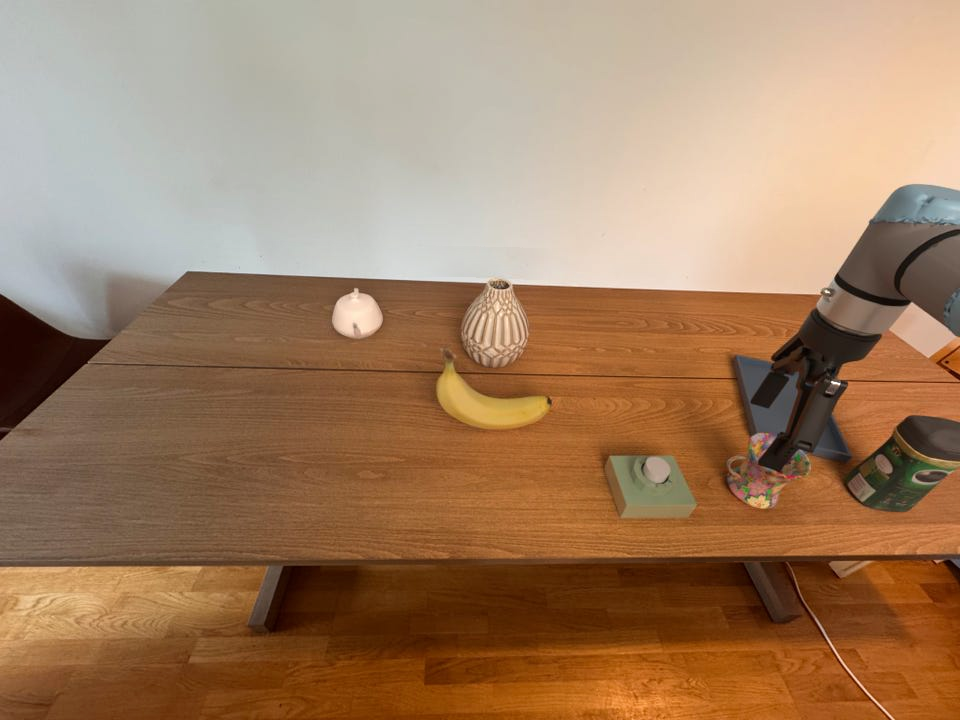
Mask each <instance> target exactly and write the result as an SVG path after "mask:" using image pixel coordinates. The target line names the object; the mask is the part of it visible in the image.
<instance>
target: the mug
mask: <svg viewBox="0 0 960 720" xmlns="http://www.w3.org/2000/svg"><path fill="white" fill-rule="evenodd" d="M777 436H778V435H775V434H771V433H757V434H755V435H753V436H752V437H749V439H748V443H747V448H748V449H747V452H746V453H747V454H746V456H745V455H743V454H736V455H733V456H731V457H729V458H727V461H726V467H727V470H728V473H727V475H726V482H727V485H728V488H729V489H730V491H731V492H732V493H733V495H734V496H735V497H736V498H738V499H739V501H741V502H743V503H744V504H746V505H748V506H750V507H753V508H756V509H762V510H767V509H771V508H774V507H775V506H776V505H777V504H778V502H779V495H780V492H781V490H782V489H783V488H784V487H785V486H786V485H788V484H790V483H791V482H793V481H796V480H800V479H803V478H805V477H807V476H808V475H809V474H810V473H811V470H812V465H811V460H810V459H809V457H808V455H807V453H804V452H803V451H802V450H799V449H798V451H797V452H796V453H795V454H794V455H793V456H792V458H791V459H790V460H789V461H788V462H787V463H786V464H785V466H784V467H783V468H782V469H781V470H780V471H779V472H778V471H775V470H772V469H769V468H766V467H763V466H760V465H758V460H759V459H760V458H761V456H762V455H763V454H764V453H765V451H766V450H767V449H768V448H769V446H770V445H771V444H772V442H773V441H774V440H775V439H776V437H777ZM737 460H743V462H741V464H740V465H738V466H737V467H733V468H731V464H732V463H733V462H734V461H737Z"/></svg>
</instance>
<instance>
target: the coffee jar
mask: <svg viewBox="0 0 960 720" xmlns="http://www.w3.org/2000/svg"><path fill="white" fill-rule="evenodd" d="M959 469H960V421H956V420H953V419H949V418H946V417H938V416H931V415H921V414H920V415H919V414H918V415H917V414H911V415H908V416H906V417H905V418H904V419H903V420H901V421H900V422H899V423H898V424H897V425H896V426H894V428H893V431H892V434H891V435H890V437H889V438H888V439H887V440H886V441H884V443H883V444H881V446H879V447H878V448H877V449H876V450H874V451H873V452H872V453H871V454H870V455H869V456H868V457H866V458H865V459H863V461H861V462H860V463H859V464H857V465H855V467H854V468H853V469H852V470H850V471H849V472H848V473H847V474H846V475H845V478H844V480H845V484H846V487H847V489H848V491H849V492H850V493H851V495H852V496H853V497H854V498H855V499H856V500H857V501H858V502H859V503H861V504H863V506H865V507H867V508H870V509H873V510H877V511H881V512H882V511H883V512H891V513H906V512H907V513H908V512H909V511H910V510H912V509H913V508H914V507H916V505H917V504H919V503H920V502H921V501H922V500H923V499H924V498H925V497H926V496H927V495H928V494H929V493H930V492H931V491H932V490H933V489H935V488H936V487H937V486H938V485H939V484H940V483H941V482H942V481H944V480H945V479H946V478H947V477H948V476H950V475H952V473H954V472H955V471H957V470H959Z"/></svg>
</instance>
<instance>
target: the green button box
mask: <svg viewBox="0 0 960 720" xmlns="http://www.w3.org/2000/svg"><path fill="white" fill-rule="evenodd" d="M650 457H659V458H661V459H663V460H665V461H666V462H667V463H668V464H669V466H670V470H671V471H670V474H669V475H668V477H667V479H666V481H665V482H663V483H660V484H657V483H654V482H651V481H649V480H648V479H647V478H646V477H645V476H644V475H643V472H642V468H643V466H644V464H645V462H646V460H647V459H648V458H650ZM603 470H604V473H605V477H606V479H607V483H608V485H609V488H610V492H611V495H612V498H613V501H614V504H615V506H616V510H617V513H618V516H619V519H672V518H673V519H676V518H677V519H679V518H681V519H682V518H686V519H687V518H689V517H690V516H691V515H692V514H693V512H694V510H695V509H696V507H697V506H698V503H697V501H696V499H695V497H694V495H693V493H692V491H691V489H690V487H689V485H688V482H687V481H686V479H685V477H684V475H683V473H682V470H681V468H680V466H679V465H678V462H677V460H676V458H675V457H674V455H670V454H669V455H665V454H664V455H609V456H608V458H607V460H606V463H605V465H604V467H603Z"/></svg>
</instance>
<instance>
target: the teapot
mask: <svg viewBox="0 0 960 720" xmlns="http://www.w3.org/2000/svg"><path fill="white" fill-rule="evenodd" d="M383 320H384V315H383V312H382V310H381V308H380V306H379V305H378V303H377V301H376V300H375V298H373V297H372V296H371V295H369V294H367V293H364V292H363V293H362V292H360V290H359V288H357V287H353V292H351V293H349V294H348V293H347V294H345V295H343V296H341V297H339V299H337V301H336V303H335V305H334V308H333V312H332V316H331V324H332V326H333V328H334V330H335V331H336V332H337V333H339V335H342V336H344V337H346V338H350V339H353V340H354V339H355V340H357V339H358V340H361V339H365V338H368V337H370V336H372V335H374V334H375V333H376V332H377V331H379V329H380V328H381V326H382V325H383V322H384V321H383Z"/></svg>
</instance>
